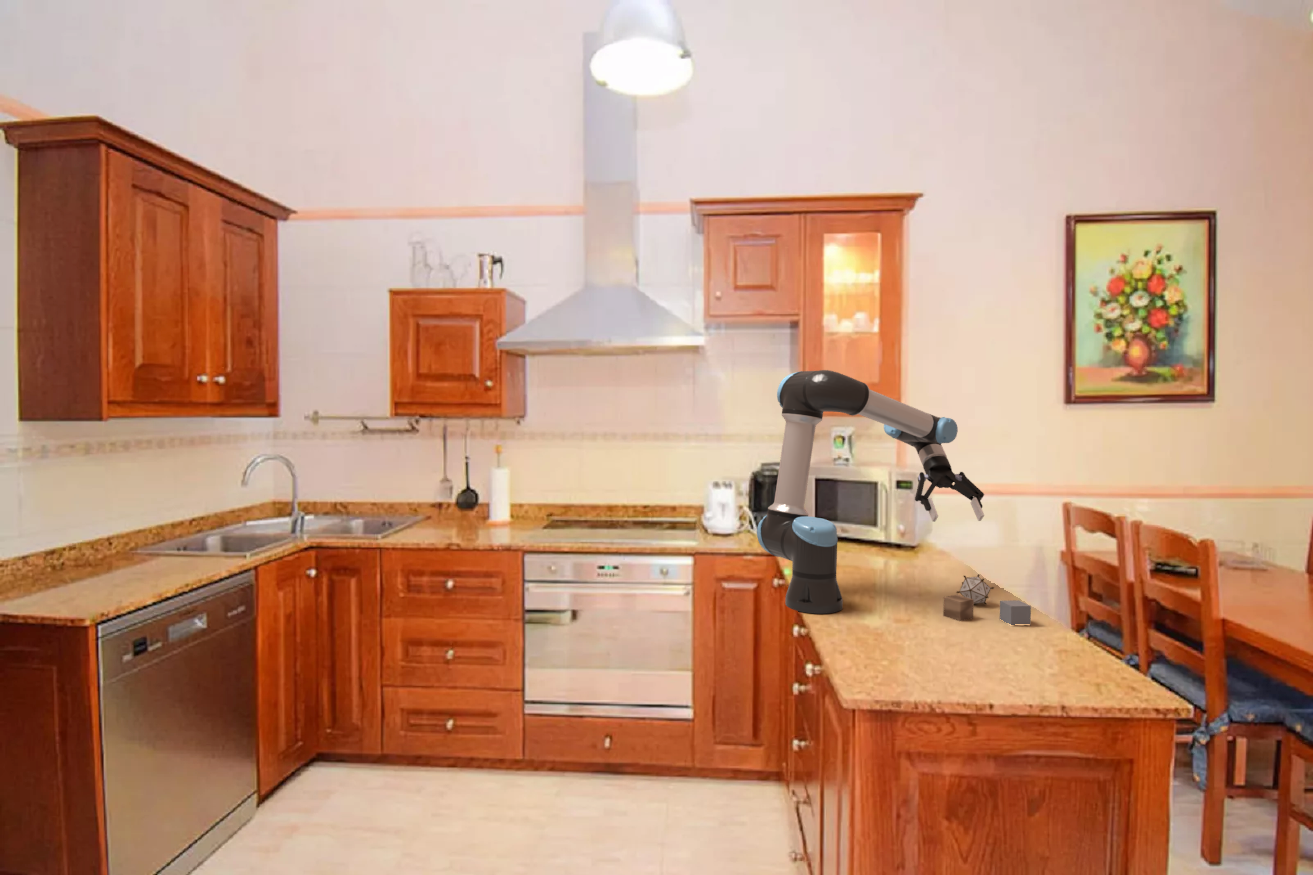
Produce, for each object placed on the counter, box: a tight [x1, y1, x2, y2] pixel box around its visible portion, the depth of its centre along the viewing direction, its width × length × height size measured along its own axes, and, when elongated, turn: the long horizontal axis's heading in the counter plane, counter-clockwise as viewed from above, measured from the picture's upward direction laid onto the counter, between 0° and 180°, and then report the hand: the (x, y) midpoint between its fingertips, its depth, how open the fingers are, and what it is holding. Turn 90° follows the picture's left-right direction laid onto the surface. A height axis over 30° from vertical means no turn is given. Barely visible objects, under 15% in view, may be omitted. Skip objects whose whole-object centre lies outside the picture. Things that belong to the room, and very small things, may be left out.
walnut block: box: [942, 594, 974, 622], centre depth 175 cm, size 5×5×5 cm
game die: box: [955, 573, 995, 606], centre depth 186 cm, size 9×8×10 cm
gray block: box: [999, 599, 1032, 625], centre depth 170 cm, size 5×5×5 cm
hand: (958, 518), depth 196 cm, fingers open, 13 cm apart
